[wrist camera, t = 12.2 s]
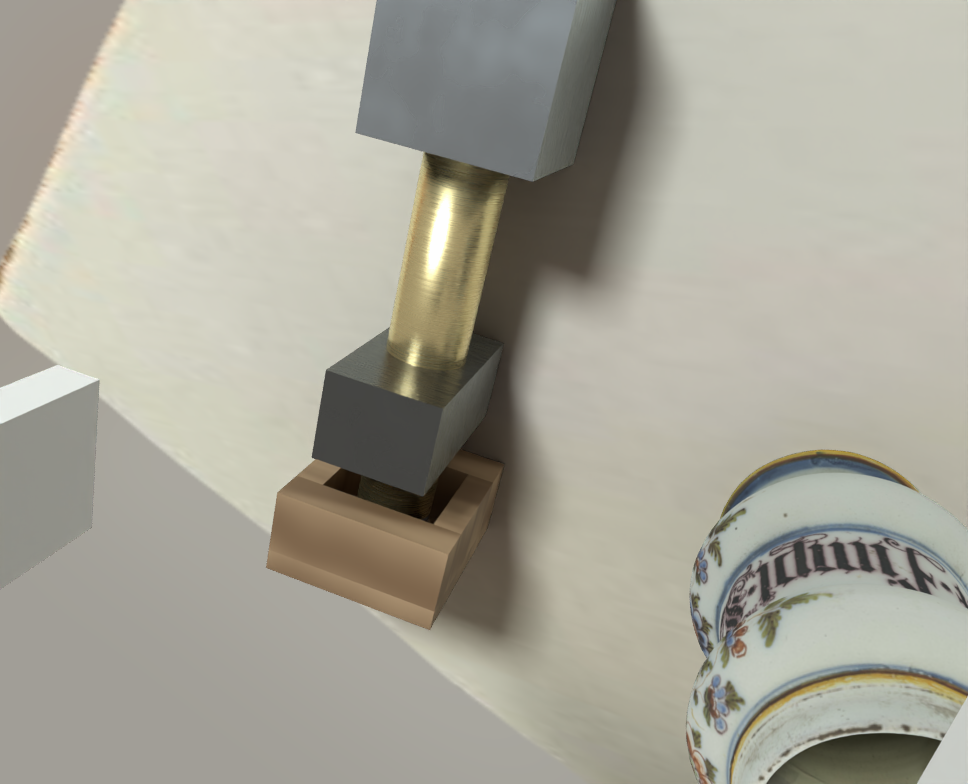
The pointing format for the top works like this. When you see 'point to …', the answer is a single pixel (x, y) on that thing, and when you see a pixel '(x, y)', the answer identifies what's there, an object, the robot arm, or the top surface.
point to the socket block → (382, 537)
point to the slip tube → (421, 349)
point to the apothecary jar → (827, 627)
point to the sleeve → (484, 79)
